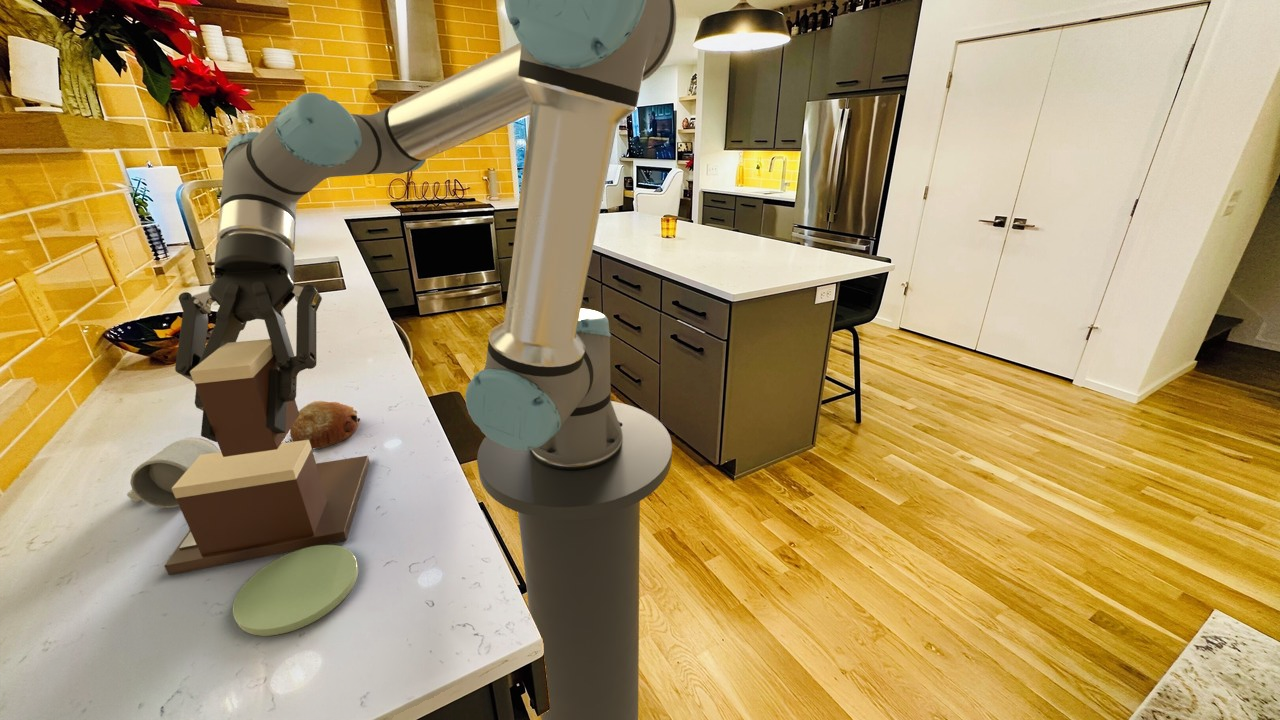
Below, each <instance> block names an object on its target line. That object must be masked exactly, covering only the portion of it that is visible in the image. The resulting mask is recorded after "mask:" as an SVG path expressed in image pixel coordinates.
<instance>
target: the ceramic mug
mask: <svg viewBox="0 0 1280 720" xmlns="http://www.w3.org/2000/svg"><path fill="white" fill-rule="evenodd" d="M218 452H221V450H220V448H218V447H217V445H215V444H214V443H213V442H212V441H209V440H207V439H204V438H201V437H185V438H182V439H178V440H176V441H174V442H172V443H170V444H169V445H167V446H166V447H164V448H163V449H162V450H161V451H160V450H159V452H157V453H156V454H154V455H153V456H152V457H150V458H149V459H147V460H146V461H144V462H142V463H141V464H139V466H137V467H136V468H135V469H134V471H132V473H131V476H130V482H129V483H130V487H131V489H130V490H129V491H128V492H127V493H126V496H127V497H128V498H129V499H130V500H131V501H132V502H134V503H139V502H141V501H142V502H145V503H146V504H148V505H150V506H153V507H157V508H161V509H172V508H173V509H174V508H180V507H179V504H178V502H177V500H176V498H175V496H174V493H173V491H172V489H171V488H172V487H173V486H174V485H175V484H176V483H177V481H178V480H179V479H180V478H181V477H182V476H183V474H184V473H185V472H186V471H187V470H188V469H189V467H190V466H191V465H192V464H193V463H194V462H195V460H196V459H197V458H198V457H199V456H200V455H203V454H211V453H218Z"/></svg>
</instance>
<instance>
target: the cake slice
mask: <svg viewBox="0 0 1280 720" xmlns="http://www.w3.org/2000/svg"><path fill="white" fill-rule="evenodd" d="M275 362H276V358H275V355H274V351H273V348H272V344H271V341H270V338H266V339H254V340H244V341H236V342H231V343H227V344H225V345H223V346H221V347H220V348H218V349H217V350H216V351H215V352H213V353H212V354H211V355H210V356H208V357H207V358H206V359H205V360H203V361H202V362H201V363H200V364H198V365H197V366H196V367H195V368H193V369H192V370H191V371H190V374H191V376H192V379H193V381H192V382H193V384H194V386H195V390H196V389H197V391H198V394H199V396H200V399H201V402H202V404H203V407H204V409H205V412H206V414H207V417H208V419H209V422H210V425H211V427H212V430H213V432H214V435H215V437H216V440H217V442H216V443H217V446H218V447H219V448H218V449H219V450H220V452H221V453H222V455H223V457H227V456H234V455H241V454H248V453H255V452H262V451H269V450H276V449H278V447H279V446H280V444H282V443H283V441H284V439H285V438H286V437H287V435H288V433H290V429H291V427H292V426H293V424H294V422H295V421H296V419H297V418H298V416H299V411H300V410H299V408H298V405H297V402H296V399H295V400H294V401H288V402H287V406H286V433H280V434H277V433H276V432H274V431H272V430H270V429H268V428H266V420H267V404H268V384H269V370H273V369H277V370H279V367H278V366H277V365H276V364H275ZM276 363H277V362H276Z"/></svg>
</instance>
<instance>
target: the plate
mask: <svg viewBox="0 0 1280 720" xmlns="http://www.w3.org/2000/svg"><path fill="white" fill-rule="evenodd" d="M357 561H358V560H357V557H356V556H355V554H354V553H353V552H352V551H351V550H349V549H348V548H345V547H343V546H340V545H337V544H336V545H335V544H326V545H317V546H311V547H307V548H303V549H300V550H295V551H290V552H288V553H287V554H284V555H282V556H280V557H278V558H276V559H275V560H272V561H271V562H269V563H268V564H266V565H264V566H263V567H262V568H261V569H259V570H258V571H257V572H256V573H254V574H253V575H252V576H251V577H249V579H248V580H247V581H246V582H245V583H244V585H242V586H241V588H240V589H239V591H238V592H237V594H236V595H235V599H234V601H233V605H232V615H233V618H234V620H235V623H236V624H237V626H238V627H239V628H240V629H241V630H242V631H243V632H245V633H247V634H250V635H253V636H260V637H270V636H277V635H284V634H287V633H290V632H294V631H296V630H299V629H302V628H304V627H306V626H308V625H310V624H312V623H314V622H316V621H319V619H321V618H323V617H324V616H326V615H327V614H329V613H330V612H331V611H333V610H334V609H335V608H336V607H338V606H339V605H340V604H341V603H342V602H343V601H344V600H345V599H346V598H347V597H348V596H349V594H350V592H351V591H352V590H353V588H354V586H355V584H356V583H357V580H358V576H359V565H358V562H357Z"/></svg>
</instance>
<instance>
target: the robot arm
mask: <svg viewBox="0 0 1280 720" xmlns="http://www.w3.org/2000/svg"><path fill="white" fill-rule="evenodd" d="M503 1H504V7H505V8H504V9H505V12H506V16H507V19H508V22H509V24H510V25H511V26H512V30H513V32H514V34H515V36H516V39H517V40H518V42H519V43H517V44H515V45H513V46H510V47H508V48H506V49H504V50H502V51H500V52H498V53H496V54H494V55H492V56H490V57H488V58H486V59H484V60H482V61H480V62H478V63H475V64H474V65H471V66H470V67H468V68H465V69H463V70H461V71H459V72H457V73H455V74H453V75H451V76H449V77H447V78H445V79H443V80H441V81H439V82H437V83H435V84H432V85H431V86H428V87H426V88H424V89H421V90H419V92H416V93H414V94H412V95H410V96H408V97H406V98H403V99H402V100H399V101H398V102H396V103H394V104H392V105H390V106H388V107H386V108H384V109H382V110H379V111H378V112H376V113H372V114H356V113H350V112H349V111H348V110H347V109H346V107H344V106H343V105H342V104H341V103H339V102H338V101H337V100H334V99H333V100H331V99H329V98H328V97H327V96H326V95H325V94H322V93H318V92H306V93H302V94H301V95H299V96H298V97H296V98H295V99H294V100H293V101H291V102H289V103H288V104H287V105H286V106H283V107H282V108H281V109H280V110H279V111H278V112H277V114H276V115H275V117H274V118H272V119H271V120H270V121H269V123H267V125H266V126H265V127H264V128H263V129H262V130H261V131H260V132H258V131H249V132H246V133H243V134H241V133H239V134H235V135H234V136H233V137H231V138H230V140H229V141H228V143H227V147H226V150H225V154H224V155H223V159H222V163H223V164H222V170H223V171H222V183H221V184H222V185H221V197H220V206H219V217H218V224H217V232H216V241H217V243H216V246H215V254H214V255H215V256H214V265H213V272H214V279H213V281H212V282H211V283H210V285H209V287H208V290H206V291H203V292H199V293H196V294H192V293H190V292H187V291H185V292H181V293H180V294H179V295H178V301H179V304H180V307H181V309H182V316H181V322H180V323H181V324H180V332H179V339H178V344H177V352H176V360H175V365H174V371H175V373H177V374H178V375H179V374H180V375H181V376H183V377H185V378H186V379H188V380H190V381H192V382H194V381H193V379H192V376H191V374H190V371H191V370H192V369H193V368H195V367H196V366H197V365H198V364H200V363H201V362H202V361H203V360H205V359H206V358H207V357H208V356H210V355H211V354H212V353H213V352H215V351H216V350H217V349H218V348H220V347H221V346H223V345H225V344H227V343H231V342H237V340H238V337H239V335H240V334H241V331H244V330H245V327H246V325H247V323H248V322H251V321H254V320H263V321H264V323H265V327H266V330H267V333H268V337H269V339H270V341H271V344H272V348H273V351H274V355H275V358H276V362H277V363H276V362H275V364H276V365H277V366H278V367H279V370H277V369H273V370H269V384H268V404H267V420H266V428H268V429H270V430H272V431H274V432H276V433H277V434H280V433H286V406H287V402H288V401H294V400H295V401H296V398H297V386H298V385H297V384H298V383H297V381H298V374H299V373H300V372H302V371H304V370H306V369H307V370H312V369H314V368H316V366H317V312H318V309H319V307H320V305H321V302H322V299H323V296H322V295H321V294H320V293H319V291H318V290H317V289H316V287H315V286H314V285H313V284H310V283H309V284H306V285H304V286H300V285H296V284H295V282H294V278H295V254H294V253H295V248H296V247H295V245H296V223H297V222H296V218H297V217H296V216H297V204H298V202H299V200H300V199H302V198H303V197H304V196H305V195H306V194H308V193H309V192H311V191H312V190H313V189H314V188H316V187H317V186H318V185H319V184H320V183H322V182H323V181H324V180H326V179H329V178H339V177H351V176H367V175H381V174H395V175H400V174H406V173H409V172H413V171H414V172H415V171H417V170H419V169H420V168H422V167H423V165H424V164H425V162H426V160H427V159H429V158H432V157H434V156H436V155H439V154H441V153H445V152H446V151H449V150H451V149H454V148H456V147H458V146H460V145H463V144H465V143H468V142H470V141H472V140H475V139H477V138H479V137H482V136H484V135H487V134H490V133H491V132H494V131H496V130H499V129H502V128H503V127H506V126H508V125H511V124H513V123H516V122H518V121H520V120H523V119H525V118H527V117H529V121H528V129H527V137H526V145H525V152H524V160H523V162H524V163H523V168H522V177H521V185H520V191H519V192H520V193H519V199H518V208H517V216H516V223H515V224H516V225H515V231H514V238H513V239H514V240H513V248H512V254H511V255H512V256H511V263H510V272H509V280H508V289H507V296H506V302H505V303H506V304H505V312H504V319H503V321H501V322H499V323H498V324H496V325H495V326H494V327H492V329H491V330H490V332H489V335H488V340H487V341H488V342H487V352H486V360H485V365H484V368H483V369H482V370H479V371H478V372H476V373H475V374H474V375H473V378H472V379H471V380H470V381H469V382H468V384H467V386H466V390H465V398H464V399H465V406H466V409H467V413H468V415H469V417H470V418H471V420H472V422H473V423H474V424H475V425H476V426H477V427H478V428H479V430H480V431H481V433H482V434H483V435H485V437H486V436H487V437H488V438H490V439H491V440H492V441H494V442H496V443H498V444H500V445H502V446H504V447H507V448H510V449H514V450H530V452H531V455H532V456H533V458H534V459H535V460H536V461H537V462H539V463H540V464H542V465H544V466H547V467H549V468H553V469H557V470H565V471H578V470H586V469H591V468H594V467H598V466H600V465H603V464H605V463H607V462H609V461H610V460H612V459H613V458H614V457H615V456H616V455H617V454H618V453H619V452H620V450H621V448H622V430H621V427H622V423H620V422H619V421H618V419H617V416H616V413H615V411H614V408H613V406H612V403H611V401H612V396H611V395H612V394H611V393H612V392H611V338H612V333H611V332H610V324H609V318H608V317H607V316H606V315H605V314H604V313H602V312H600V311H597V310H593V309H589V308H582V304H583V299H584V294H585V289H586V284H587V279H588V274H589V271H590V270H589V268H590V264H591V258H592V254H593V248H594V243H595V239H596V234H597V229H598V223H599V218H600V213H601V208H602V203H603V198H604V194H605V188H606V184H607V183H606V182H607V179H608V173H609V168H610V163H611V158H612V153H613V147H614V142H615V138H616V133H617V128H618V126H619V124H620V123H621V122H622V121H623V120H625V119H627V118H628V117H629V116H630V115H631V114H633V113H635V112H636V111H637V110H636V109H637V107H638V102H639V97H640V92H641V88H642V82H644V81H645V80H647V79H649V78H650V77H652V76H653V75H654V74H656V72H657V71H658V70H659V69H660V68H661V67H662V65H664V63H665V61H666V60H667V58H668V56H669V55H670V53H671V50H672V47H673V45H674V41H675V36H676V32H677V20H678V19H677V18H678V17H677V6H676V1H675V0H503ZM293 299H294V300H295V301H296V334H295V335H296V339H295V340H296V344H295V345H296V346H295V347H296V348H295V351H296V352H295V353H294V350H293V346H292V342H291V339H290V336H289V333H288V330H287V326H286V324H287V322H286V319H285V316H284V313H283V310H284V309H285V308H286V307H287V306H288V304H289V303H290V302H291V301H292V300H293ZM215 302H216V303H217V305H219V307H218V309H217V311H216V313H215V317H216V322H215V324H214V326H213V329H212V331H211V333H210V336H209V338H208V340H207V336H208V328H209V316H208V315H209V314H211V313H212V305H213V303H215ZM194 405H195V408H196V409H198V410H200V411H202V420H201V429H200V430H201V431H200V437H202V438H205V439H206V440H207V439H208V441H209V440H210V441H211V442H214V443H218V442H217V440H216V437H215V435H214V432H213V430H212V427H211V425H210V422H209V419H208V417H207V414H206V412H205V409H204V407H203V404H202V402H201V399H200V396H199V394H198V391H197V389H196V388H195V395H194Z"/></svg>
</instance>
